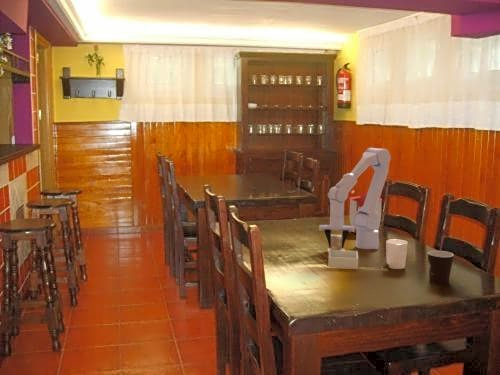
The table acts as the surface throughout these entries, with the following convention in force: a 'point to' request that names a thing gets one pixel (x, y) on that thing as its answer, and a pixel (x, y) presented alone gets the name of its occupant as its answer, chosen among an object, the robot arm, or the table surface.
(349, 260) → the bin
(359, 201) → the citrus juicer
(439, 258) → the coffee mug
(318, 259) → the table surface
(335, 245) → the socket block
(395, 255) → the white cup
